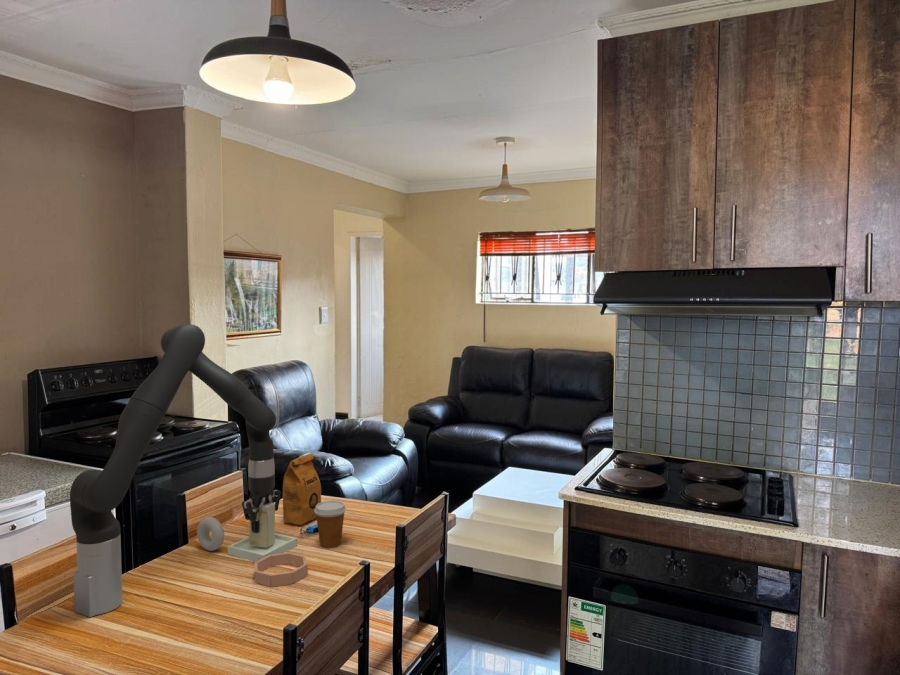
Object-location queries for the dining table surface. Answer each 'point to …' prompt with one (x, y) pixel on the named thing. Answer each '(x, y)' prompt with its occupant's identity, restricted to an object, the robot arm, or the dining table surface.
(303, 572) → the holder ring
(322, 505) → the disposable coffee cup
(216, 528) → the donut
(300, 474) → the coffee package
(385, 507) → the dining table surface
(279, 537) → the tray
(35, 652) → the dining table surface
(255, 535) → the skincare box
